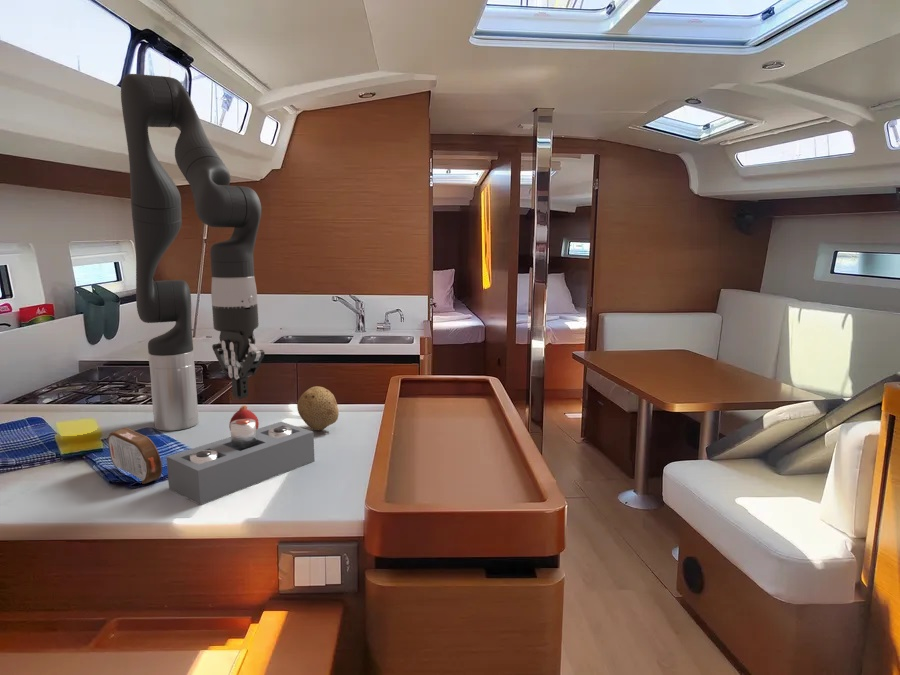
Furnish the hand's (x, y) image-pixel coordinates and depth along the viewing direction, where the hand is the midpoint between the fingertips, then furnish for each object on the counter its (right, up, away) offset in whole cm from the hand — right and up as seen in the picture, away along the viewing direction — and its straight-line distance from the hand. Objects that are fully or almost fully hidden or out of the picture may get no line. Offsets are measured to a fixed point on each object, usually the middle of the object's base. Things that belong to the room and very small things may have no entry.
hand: (240, 397), depth 108 cm
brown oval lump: (+8, -10, +28) cm, 31 cm away
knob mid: (0, -9, +2) cm, 9 cm away
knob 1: (-5, -13, -4) cm, 15 cm away
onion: (-6, -12, +20) cm, 24 cm away
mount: (0, -14, +3) cm, 15 cm away
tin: (-20, -15, +2) cm, 25 cm away
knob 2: (+5, -11, +9) cm, 15 cm away
